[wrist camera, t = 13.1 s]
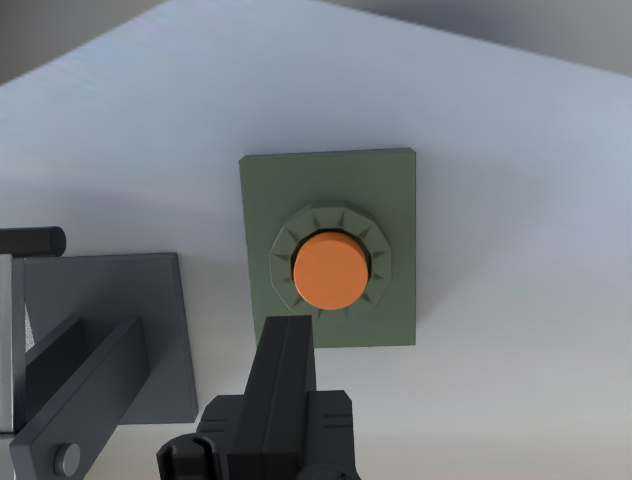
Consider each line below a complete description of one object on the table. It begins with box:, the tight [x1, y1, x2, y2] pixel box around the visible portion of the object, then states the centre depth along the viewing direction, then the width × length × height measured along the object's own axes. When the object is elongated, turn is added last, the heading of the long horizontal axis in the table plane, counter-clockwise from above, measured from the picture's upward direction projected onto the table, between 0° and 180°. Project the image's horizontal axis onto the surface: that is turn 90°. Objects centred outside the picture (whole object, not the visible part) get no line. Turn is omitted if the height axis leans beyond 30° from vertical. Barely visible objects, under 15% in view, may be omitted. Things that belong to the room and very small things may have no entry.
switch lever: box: [0, 226, 66, 480], centre depth 24 cm, size 12×5×2 cm, turn 3°
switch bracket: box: [8, 253, 198, 480], centre depth 28 cm, size 12×10×14 cm
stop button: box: [294, 232, 368, 310], centre depth 28 cm, size 4×4×2 cm
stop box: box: [239, 148, 416, 348], centre depth 31 cm, size 12×10×4 cm
